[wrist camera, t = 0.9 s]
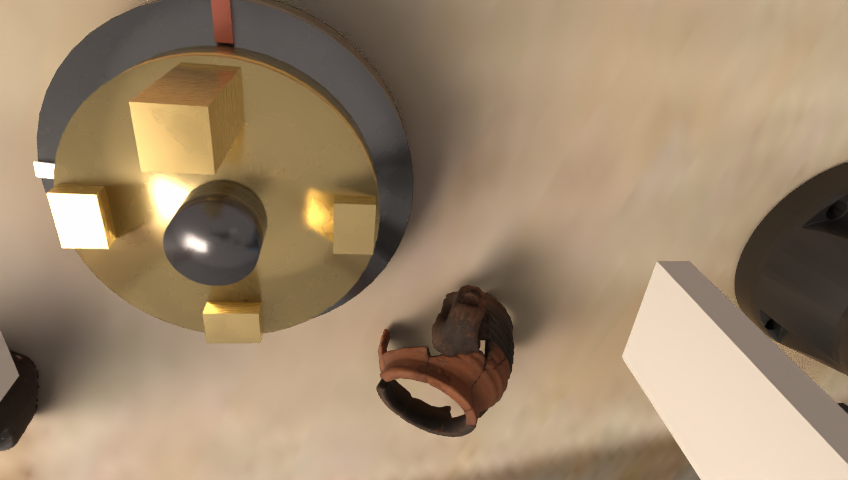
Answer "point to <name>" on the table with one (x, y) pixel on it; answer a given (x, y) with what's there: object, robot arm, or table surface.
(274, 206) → the gold lug disc
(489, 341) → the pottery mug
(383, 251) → the base
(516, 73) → the table surface
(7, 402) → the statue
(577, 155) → the table surface
